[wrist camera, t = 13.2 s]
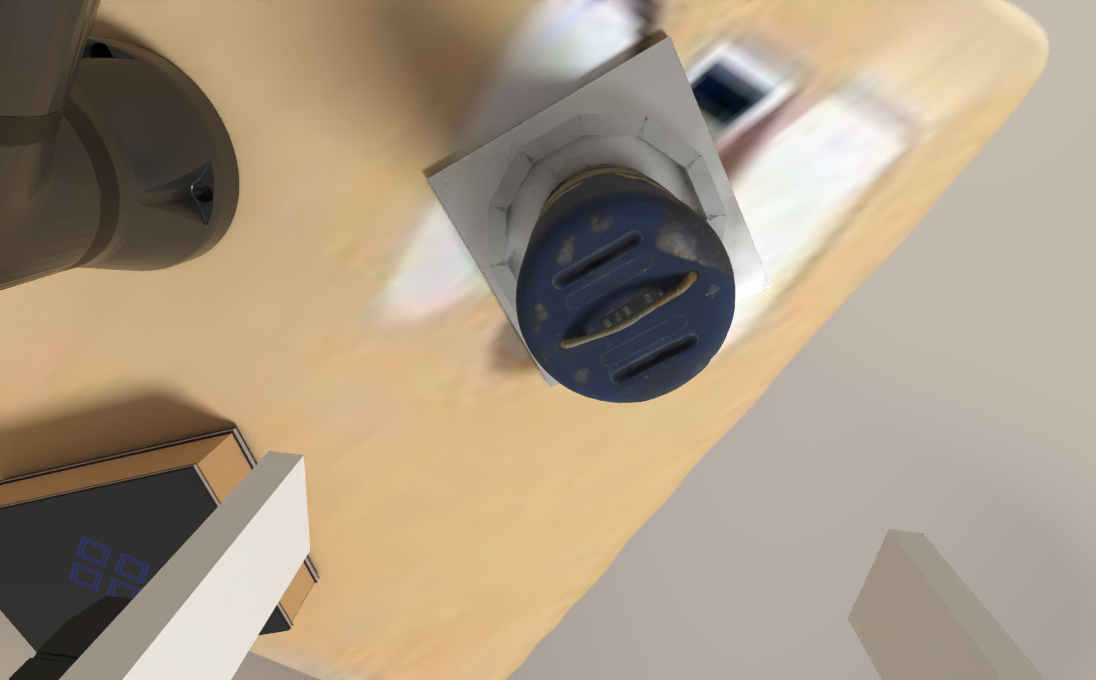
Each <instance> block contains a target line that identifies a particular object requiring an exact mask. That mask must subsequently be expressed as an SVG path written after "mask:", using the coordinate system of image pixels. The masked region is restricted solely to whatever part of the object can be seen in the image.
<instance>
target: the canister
mask: <svg viewBox="0 0 1096 680" xmlns="http://www.w3.org/2000/svg"><path fill="white" fill-rule="evenodd" d="M734 310H735V279H734V272H733V268H732V265H731V262H730V258H729V256H728V254H727V251H726V249H725V247H724V245H723V243H722V241H721V240H720V238H719V236H718V235H717V234H716V232H715V231H714V229H713V228H712V227H711V226H710V225H709V223H708V222H707V221H706V220H705V219H704V218H703V217H702V216H701V215H700V214H698V213H697V212H696V211H695V210H693V209H692V208H691V207H689V206H688V205H687V204H685V203H683V202H682V201H680V200H679V199H678V198H676V197H675V196H674V195H673V194H672V193H671V192H670V191H668V190H667V189H666V188H665V187H663V186H662V185H661V184H659V183H658V182H656V181H655V180H653V179H651V178H649V177H647V176H646V175H644V174H642V173H641V172H639V171H637V170H634V169H631V168H628V167H623V166H619V165H610V164H603V165H595V166H590V167H587V168H584V169H582V170H579V171H577V172H575V173H573V174H572V175H570V176H568V177H567V178H566V179H564V180H563V181H562V182H561V183H560V184H559V185H558V186H557V187H556V188H555V189H554V190H553V191H552V193H551V194H550V195H549V197H548V198H547V200H546V202H545V203H544V206H543V208H542V210H541V212H540V215H539V218H538V219H537V221H536V223H535V226H534V228H533V230H532V233H531V236H530V239H529V242H528V246H527V249H526V252H525V255H524V258H523V261H522V264H521V268H520V272H519V276H518V280H517V286H516V311H517V318H518V323H519V327H520V330H521V333H522V336H523V338H524V340H525V343H526V345H527V347H528V349H529V350H530V352H531V354H532V355H533V357H534V358H535V359H536V361H537V362H538V363H539V364H540V366H541V367H542V368H543V369H544V370H545V371H546V372H547V373H548V374H549V375H550V376H551V377H552V378H554V379H555V380H556V381H558V382H559V383H560V384H562V385H563V386H565V387H567V388H568V389H570V390H572V391H574V392H576V393H578V394H581V395H583V396H586V397H589V398H593V399H597V400H600V401H607V402H615V403H632V402H643V401H647V400H650V399H654V398H656V397H659V396H662V395H664V394H667V393H669V392H671V391H673V390H675V389H677V388H679V387H680V386H682V385H683V384H685V383H687V382H688V381H689V380H691V379H692V378H693V377H695V376H696V375H697V374H698V373H700V372H701V371H702V370H703V369H704V368H705V367H706V366H707V364H708V363H709V362H710V360H711V358H712V357H713V356H714V355H715V354H716V353H717V352H718V350H719V349H720V347H721V345H722V344H723V342H724V340H725V338H726V336H727V333H728V331H729V328H730V326H731V323H732V319H733V315H734Z"/></svg>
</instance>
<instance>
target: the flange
mask: <svg viewBox="0 0 1096 680" xmlns="http://www.w3.org/2000/svg"><path fill="white" fill-rule="evenodd" d="M603 164H610V165H619V166H623V167H628V168H631V169H634V170H637V171H639V172H641V173H642V174H644V175H646V176H647V177H649V178H651V179H653V180H655V181H656V182H658V183H659V184H661V185H662V186H663V187H665V188H666V189H667V190H668V191H670V192H671V193H672V194H673V195H674V196H675V197H676V198H678V199H679V200H680V201H682V202H683V203H685V204H687V205H688V206H689V207H691V208H692V209H693V210H695V211H696V212H697V213H698V214H700V215H701V216H702V217H703V218H704V219H705V220H706V221H707V222H708V223H709V225H710V226H711V227H712V228H713V229H714V231H715V232H716V234H717V235H718V236H719V238H720V240H721V241H722V243H723V245H724V247H725V249H726V251H727V254H728V256H729V258H730V262H731V265H732V268H733V272H734V279H735V303H736V302H738V301H740V300H743V299H745V298H747V297H749V296H751V295H754V294H756V293H758V292H760V291H762V290H765V289H767V288H769V287H771V285H770V282H769V280H768V277H767V275H766V272H765V270H764V267H763V265H762V262H761V260H760V257H759V255H758V253H757V250H756V248H755V245H754V243H753V240H752V238H751V235H750V233H749V230H748V228H747V225H746V223H745V220H744V218H743V215H742V213H741V210H740V208H739V205H738V203H737V201H736V198H735V196H734V193H733V191H732V188H731V186H730V183H729V181H728V178H727V176H726V173H725V171H724V168H723V166H722V163H721V161H720V158H719V156H718V154H717V151H716V149H715V146H714V144H713V141H712V139H711V136H710V134H709V131H708V129H707V126H706V124H705V121H704V119H703V116H702V114H701V111H700V109H699V107H698V104H697V102H696V99H695V97H694V94H693V92H692V89H691V87H690V84H689V82H688V79H687V77H686V74H685V72H684V69H683V67H682V64H681V62H680V60H679V57H678V55H677V52H676V50H675V47H674V45H673V42H672V40H671V37H670V36H668V37H667V38H665V39H663V40H662V41H660V42H658V43H657V44H655V45H653V46H651V47H650V48H648V49H646V50H645V51H643V52H641V53H640V54H638V55H636V56H634V57H633V58H631V59H629V60H628V61H626V62H624V63H623V64H621V65H619V66H618V67H616V68H614V69H612V70H611V71H609V72H607V73H606V74H604V75H602V76H601V77H599V78H597V79H595V80H594V81H592V82H590V83H589V84H587V85H585V86H584V87H582V88H580V89H579V90H577V91H575V92H573V93H572V94H570V95H568V96H567V97H565V98H563V99H562V100H560V101H558V102H556V103H555V104H553V105H551V106H550V107H548V108H546V109H545V110H543V111H541V112H540V113H538V114H536V115H534V116H533V117H531V118H529V119H528V120H526V121H524V122H523V123H521V124H519V125H517V126H516V127H514V128H512V129H511V130H509V131H507V132H506V133H504V134H502V135H500V136H499V137H497V138H495V139H494V140H492V141H490V142H489V143H487V144H485V145H484V146H482V147H480V148H478V149H477V150H475V151H473V152H472V153H470V154H468V155H467V156H465V157H463V158H461V159H460V160H458V161H456V162H455V163H453V164H451V165H450V166H448V167H446V168H445V169H443V170H441V171H439V172H438V173H436V174H434V175H433V176H431V177H429V178H428V179H427V180H428V181H429V183H430V185H431V187H432V188H433V190H434V192H435V193H436V195H437V197H438V198H439V200H440V202H441V203H442V205H443V207H444V208H445V210H446V212H447V214H448V215H449V217H450V219H451V220H452V222H453V224H454V225H455V227H456V229H457V230H458V232H459V234H460V235H461V237H462V239H463V241H464V242H465V244H466V246H467V247H468V249H469V251H470V252H471V254H472V256H473V257H474V259H475V261H476V263H477V264H478V266H479V268H480V269H481V271H482V273H483V274H484V276H485V278H486V279H487V281H488V283H489V284H490V286H491V288H492V290H493V291H494V293H495V295H496V296H497V298H498V300H499V301H500V303H501V305H502V306H503V308H504V310H505V311H506V313H507V315H508V317H509V318H510V320H511V322H512V323H513V325H514V327H515V328H516V330H517V332H518V333H519V335H520V337H521V338H522V340H523V342H524V344H525V345H526V343H525V340H524V338H523V336H522V333H521V330H520V327H519V323H518V318H517V311H516V286H517V280H518V276H519V272H520V268H521V264H522V261H523V258H524V255H525V252H526V249H527V246H528V242H529V239H530V236H531V233H532V230H533V228H534V226H535V223H536V221H537V219H538V218H539V215H540V212H541V210H542V208H543V206H544V203H545V202H546V200H547V198H548V197H549V195H550V194H551V193H552V191H553V190H554V189H555V188H556V187H557V186H558V185H559V184H560V183H561V182H562V181H563V180H564V179H566V178H567V177H568V176H570V175H572V174H573V173H575V172H577V171H579V170H582V169H584V168H587V167H590V166H595V165H603ZM526 347H527V345H526ZM527 349H528V347H527ZM528 350H529V349H528ZM529 352H530V350H529ZM530 354H531V352H530ZM531 355H532V354H531ZM532 357H533V355H532ZM533 359H534V360H535V362H536V364H537V366H538V367H539V369H540V371H541V372H542V374H543V376H544V377H545V379H546V381H547V382H548V384H549V386H550V387H552V386H554V385H557V384H559V382H558V381H556V380H555V379H554V378H552V377H551V376H550V375H549V374H548V373H547V372H546V371H545V370H544V369H543V368H542V367H541V366H540V364H539V363H538V362H537V361H536V359H535V358H534V357H533Z"/></svg>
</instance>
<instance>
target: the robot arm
mask: <svg viewBox="0 0 1096 680" xmlns="http://www.w3.org/2000/svg"><path fill="white" fill-rule="evenodd" d="M100 1H101V0H0V290H3V289H6V288H10V287H13V286H16V285H19V284H23V283H26V282H29V281H32V280H36V279H39V278H42V277H45V276H49V275H52V274H55V273H58V272H62V271H65V270H69V269H72V268H76V267H80V268H96V269H113V270H131V271H152V270H159V269H164V268H169V267H172V266H175V265H178V264H181V263H183V262H186V261H189V260H192V259H194V258H197V257H199V256H201V255H203V254H204V253H206V252H207V251H209V250H210V249H211V248H213V247H214V246H215V245H216V244H217V243H218V242H219V241H220V240H221V238H222V237H223V236H224V234H225V233H226V231H227V230H228V228H229V226H230V224H231V222H232V220H233V217H234V214H235V211H236V207H237V203H238V196H239V173H238V166H237V160H236V156H235V152H234V149H233V145H232V143H231V140H230V137H229V135H228V132H227V130H226V128H225V126H224V124H223V122H222V120H221V118H220V117H219V115H218V113H217V111H216V110H215V108H214V107H213V105H212V104H211V102H210V101H209V100H208V98H207V97H206V96H205V95H204V93H203V92H202V91H201V90H200V89H199V88H198V87H197V85H196V84H195V83H194V82H193V81H192V80H191V79H190V78H189V77H188V76H186V75H185V74H184V73H183V72H182V71H181V70H179V69H178V68H177V67H176V66H174V65H173V64H172V63H170V62H169V61H167V60H166V59H164V58H162V57H161V56H159V55H157V54H155V53H154V52H152V51H149V50H147V49H145V48H143V47H140V46H138V45H135V44H132V43H128V42H124V41H120V40H114V39H109V38H103V37H97V36H91V35H89V34H90V31H91V28H92V25H93V22H94V19H95V16H96V13H97V10H98V7H99V4H100ZM309 552H310V541H309V526H308V512H307V498H306V484H305V469H304V455H296V454H288V453H280V452H272V451H269V452H268V453H267V454H266V455H265V456H264V457H263V459H262V460H261V461H260V462H259V463H258V464H257V465H256V466H255V467H254V468H253V469H252V470H251V472H250V473H249V474H248V475H247V476H246V477H245V478H244V479H243V480H242V481H241V482H240V484H239V485H238V486H237V487H236V488H235V489H234V490H233V491H232V492H231V493H230V494H229V495H228V497H227V498H226V499H225V500H224V501H223V502H222V503H221V504H220V505H219V506H218V507H217V508H216V510H215V511H214V512H213V513H212V514H211V515H210V516H209V517H208V518H207V519H206V520H205V522H204V523H203V524H202V525H201V526H200V527H199V528H198V529H197V530H196V531H195V532H194V533H193V535H192V536H191V537H190V538H189V539H188V540H187V541H186V542H185V543H184V544H183V545H182V547H181V548H180V549H179V550H178V551H177V552H176V553H175V554H174V555H173V556H172V557H171V558H170V560H169V561H168V562H167V563H166V564H165V565H164V566H163V567H162V568H161V569H160V570H159V572H158V573H157V574H156V575H155V576H154V577H153V578H152V579H151V580H150V581H149V582H148V583H147V585H146V586H145V587H144V588H143V589H142V590H141V591H140V592H139V593H138V594H137V595H136V596H135V598H134V599H131V598H123V597H115V596H105V597H103V598H102V599H100V600H99V601H97V602H96V603H94V604H93V605H91V606H89V607H88V608H86V609H85V610H83V611H82V612H80V613H79V614H77V615H75V616H74V617H72V618H71V619H69V620H68V621H67V622H66V623H65V624H64V625H63V626H62V627H61V628H60V629H59V630H58V631H57V632H56V633H55V634H54V635H53V636H52V637H51V638H50V639H49V640H48V641H46V642H45V643H44V644H43V645H42V646H41V647H40V648H39V649H38V650H37V651H36V655H35V656H34V657H33V658H30V659H28V661H26V662H25V663H24V664H23V665H22V667H20V668H19V669H18V670H17V671H16V672H15V673H14V674H13V675H12V676H11V677H10V678H9V680H231V679H232V677H233V675H234V673H235V672H236V670H237V669H238V667H239V665H240V664H241V662H242V661H243V659H244V657H245V656H246V654H247V652H248V651H249V649H250V648H251V646H252V644H253V643H254V641H255V640H256V638H257V636H258V635H259V633H260V631H261V630H262V628H263V626H264V625H265V623H266V622H267V620H268V618H269V617H270V615H271V613H272V612H273V610H274V609H275V607H276V605H277V604H278V602H279V600H280V599H281V597H282V596H283V594H284V592H285V591H286V589H287V587H288V586H289V584H290V583H291V581H292V579H293V578H294V576H295V574H296V573H297V571H298V569H299V568H300V566H301V565H302V563H303V561H304V560H305V558H306V556H307V555H308V553H309ZM848 619H849V621H850V623H851V624H852V626H853V628H854V630H855V632H856V633H857V635H858V637H859V639H860V641H861V643H862V644H863V646H864V648H865V650H866V652H867V654H868V656H869V657H870V659H871V661H872V663H873V665H874V667H875V668H876V670H877V672H878V674H879V676H880V677H881V679H882V680H1046V679H1045V678H1044V677H1043V676H1042V675H1041V673H1040V672H1039V671H1038V670H1037V669H1036V667H1035V666H1034V665H1033V664H1032V663H1031V662H1030V660H1029V659H1028V658H1027V657H1026V656H1025V655H1024V653H1023V652H1022V651H1021V650H1020V648H1019V647H1018V646H1017V645H1016V644H1015V642H1014V641H1013V640H1012V639H1011V638H1010V636H1009V635H1008V634H1007V633H1006V632H1005V631H1004V630H1003V628H1002V627H1001V626H1000V625H999V623H998V622H997V621H996V620H995V619H994V618H993V616H992V615H991V614H990V613H989V611H988V610H987V609H986V608H985V607H984V606H983V604H982V603H981V602H980V601H979V600H978V598H977V597H976V596H975V595H974V594H973V592H972V591H971V590H970V589H969V588H968V586H967V585H966V584H965V583H964V582H963V580H962V579H961V578H960V577H959V576H958V574H957V573H956V572H955V571H954V570H953V569H952V567H951V566H950V565H949V564H948V563H947V561H946V560H945V559H944V558H943V557H942V555H941V554H940V553H939V552H938V551H937V549H936V548H935V547H934V546H933V545H932V543H931V542H930V541H929V540H928V539H927V538H926V536H925V535H924V534H922V533H915V532H906V531H899V530H891V529H890V530H889V531H888V533H887V535H886V537H885V539H884V541H883V544H882V546H881V548H880V550H879V552H878V555H877V557H876V559H875V561H874V563H873V565H872V568H871V570H870V572H869V574H868V576H867V578H866V580H865V583H864V585H863V587H862V589H861V591H860V594H859V596H858V598H857V600H856V602H855V604H854V607H853V609H852V611H851V613H850V615H849V618H848Z"/></svg>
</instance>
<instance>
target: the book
mask: <svg viewBox="0 0 1096 680" xmlns="http://www.w3.org/2000/svg"><path fill="white" fill-rule="evenodd" d="M256 465H257V464H256V462H255V460H254V458H253V456H252V455H251V453H250V451H249V449H248V447H247V446H246V444H245V442H244V440H243V438H242V436H241V435H240V433H239V431H238V429H237V427H235V428H231V429H227V430H222V431H218V432H213V433H209V434H204V435H200V436H196V437H191V438H187V439H182V440H178V441H173V442H169V443H164V444H160V445H156V446H151V447H147V448H142V449H138V450H133V451H129V452H125V453H120V454H116V455H111V456H107V457H102V458H98V459H94V460H89V461H85V462H80V463H76V464H71V465H67V466H63V467H58V468H54V469H49V470H45V471H40V472H36V473H31V474H27V475H23V476H18V477H14V478H9V479H5V480H0V610H1V611H2V612H3V613H4V614H5V616H6V617H7V618H8V619H9V620H10V622H11V623H12V624H13V625H14V626H15V627H16V629H17V630H18V631H19V632H20V633H21V635H22V636H23V637H24V638H25V639H26V640H27V642H28V643H29V644H30V645H31V646H32V647H33V649H34V650H35V651H37V650H38V649H39V648H40V647H41V646H42V645H43V644H44V643H45V642H46V641H48V640H49V639H50V638H51V637H52V636H53V635H54V634H55V633H56V632H57V631H58V630H59V629H60V628H61V627H62V626H63V625H64V624H65V623H66V622H67V621H68V620H69V619H71V618H72V617H74V616H75V615H77V614H79V613H80V612H82V611H83V610H85V609H86V608H88V607H89V606H91V605H93V604H94V603H96V602H97V601H99V600H100V599H102V598H103V597H105V596H115V597H123V598H131V599H134V598H135V596H136V595H137V594H138V593H139V592H140V591H141V590H142V589H143V588H144V587H145V586H146V585H147V583H148V582H149V581H150V580H151V579H152V578H153V577H154V576H155V575H156V574H157V573H158V572H159V570H160V569H161V568H162V567H163V566H164V565H165V564H166V563H167V562H168V561H169V560H170V558H171V557H172V556H173V555H174V554H175V553H176V552H177V551H178V550H179V549H180V548H181V547H182V545H183V544H184V543H185V542H186V541H187V540H188V539H189V538H190V537H191V536H192V535H193V533H194V532H195V531H196V530H197V529H198V528H199V527H200V526H201V525H202V524H203V523H204V522H205V520H206V519H207V518H208V517H209V516H210V515H211V514H212V513H213V512H214V511H215V510H216V508H217V507H218V506H219V505H220V504H221V503H222V502H223V501H224V500H225V499H226V498H227V497H228V495H229V494H230V493H231V492H232V491H233V490H234V489H235V488H236V487H237V486H238V485H239V484H240V482H241V481H242V480H243V479H244V478H245V477H246V476H247V475H248V474H249V473H250V472H251V470H252V469H253V468H254V467H255V466H256ZM318 579H319V576H318V574H317V573H316V571H315V569H314V567H313V565H312V564H311V562H310V560H309V558H308V556H306V558H305V560H304V561H303V563H302V565H301V566H300V568H299V569H298V571H297V573H296V574H295V576H294V578H293V579H292V581H291V583H290V584H289V586H288V587H287V589H286V591H285V592H284V594H283V596H282V597H281V599H280V600H279V602H278V604H277V605H276V607H275V609H274V610H273V612H272V613H271V615H270V617H269V618H268V620H267V622H266V623H265V625H264V626H263V628H262V630H261V631H260V633H259V635H263V634H269V633H276V632H282V631H288V630H289V629H291V626H292V625H293V623H292V621H293V619H294V617H295V616H296V614H297V612H298V610H299V609H300V607H301V605H302V603H303V602H304V600H305V598H306V596H307V595H308V593H309V591H310V589H311V588H312V586H313V584H314V583H317V580H318Z"/></svg>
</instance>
